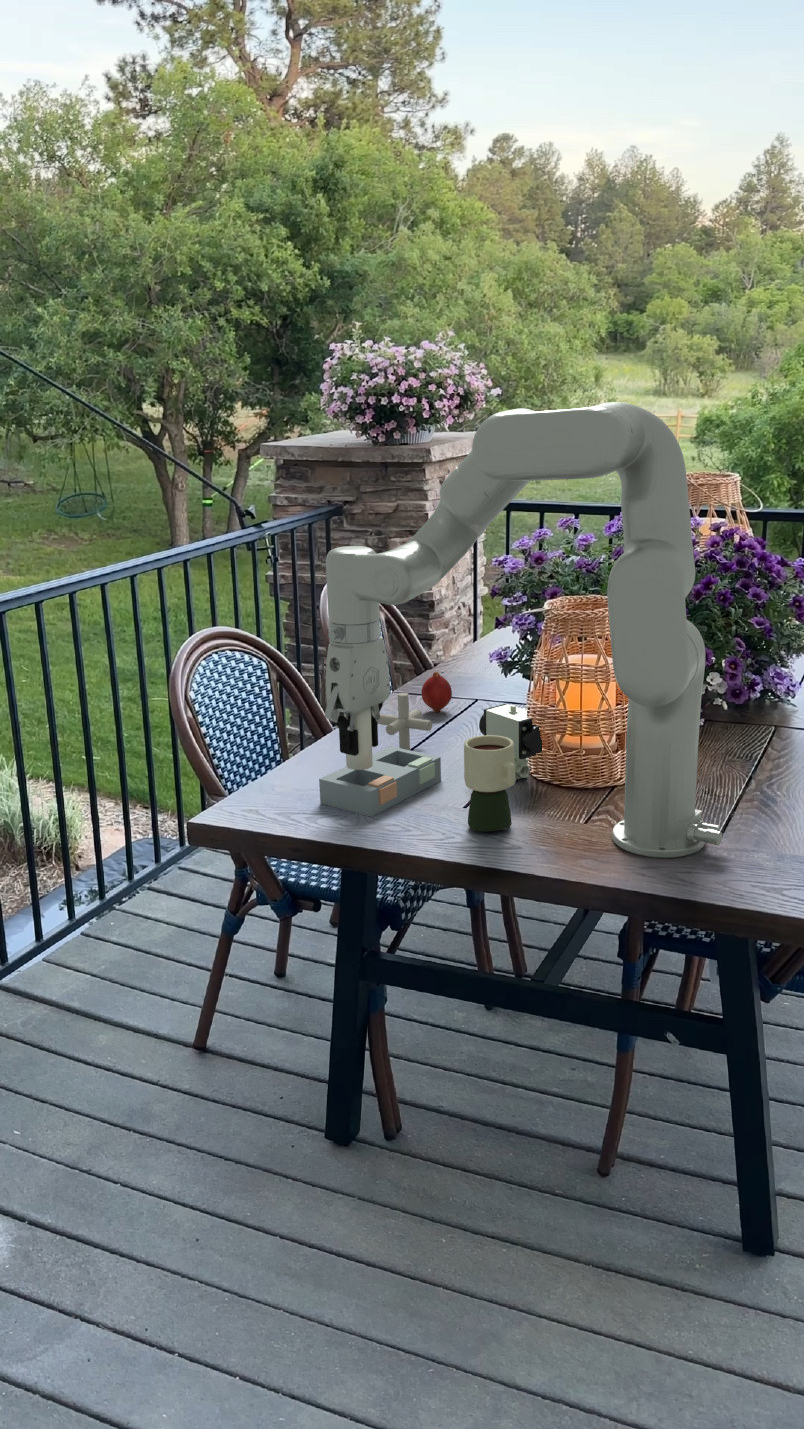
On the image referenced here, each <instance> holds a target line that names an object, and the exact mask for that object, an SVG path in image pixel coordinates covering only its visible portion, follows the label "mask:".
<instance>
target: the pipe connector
mask: <svg viewBox="0 0 804 1429" xmlns="http://www.w3.org/2000/svg"><path fill="white" fill-rule="evenodd" d="M409 704H410V698H409V693H408V692H399V693H398V694H397V708H398V709H397V711H398V712H397V713H398V715H391V714H384V713H383V714H382V713H380V719H379V720H378V721H377V723H378V725H381V726H386V727H385V732H386V733H387V735H389V736H393V735H395V734H397V733H398V741H399V742H398V744H399V745H398V748H401V749H406V750H410V751H411V743H410V741H411V739H410V738H411V736H410V735H411V734H410V729H411V730H419V731H426V732H430V731H431V730H432V729H433V721H432V720H431V719H421V717H422V716H423V713H422V711H421V709H419V708H415V709H413V710H411V711H410V706H409Z"/></svg>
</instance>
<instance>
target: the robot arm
mask: <svg viewBox="0 0 804 1429" xmlns="http://www.w3.org/2000/svg"><path fill="white" fill-rule="evenodd" d="M473 436H474V437H473V440H472V444H471V445H472V446H471V451H470V452H469V453H468V454H467V455H466V456H465V457H464V458H463V459H462V461H460V463H459V464H457V466H456V467H455V468H454V470H452V472H451V473H450V474H449V475H448V476H447V477H446V478H445V480H443V482H442V483H441V485H440V487H439V496H440V497H439V502H438V505H437V507H436V508H435V510H434V511H433V513H432V514H431V515H430V517H429V518H428V519H427V521H426V522H424V524H423V525H422V526H421V527H420V528H419V529H418V530H417V531H416V533H415V534H414V535H413V536H411V538H410V539H409V540H408V541H407V542H406V543H404V544H401V545H399V546H397V547H395V548H392V549H390V550H387V551H383V552H379V553H377V552H376V551H375V550H374V549H373V548H372V547H371V548H370V547H367V546H362V545H346V546H339V547H336V548H333V549H331V550H329V551H328V553H327V555H326V557H325V572H326V574H325V575H326V594H327V595H326V596H327V598H326V599H327V613H328V635H327V636H328V638H329V644H328V647H327V653H326V654H327V655H326V667H325V668H326V671H325V672H326V673H325V689H326V690H325V691H326V692H325V694H326V704H327V706H326V708H325V711H324V717H325V718H326V719H328V720H329V721H332V723H334V725H335V728H336V729H338V735H339V751H340V753H342V754H345V755H346V754H349V755H353V756H356V755H358V753H359V746H358V730H356V729H355V720H356V712H359V711H362V710H365V709H367V708H370V707H371V731H372V748H376V747H377V746H379V733H378V732H379V730H378V728H379V727H378V725H379V724H378V723H377V721H378V720H379V719H380V714H381V710H382V709H383V705H384V703H385V702H386V700H387V699H389V697H390V694H391V683H390V670H389V661H388V654H387V650H386V645H385V641H384V638H383V636H381V626H380V625H381V620H380V619H381V618H380V615H381V614H380V604H384V605H388V606H396V605H397V606H398V605H403V604H404V603H408V602H409V601H410V600H413V599H415V598H416V597H418V596H419V595H421V594H424V593H425V592H427V591H429V590H431V589H432V588H434V587H435V586H436V585H437V584H439V582H440V581H441V580H442V579H443V578H444V577H445V576H446V575H447V574H448V573H449V572H450V571H451V570H452V569H453V568H454V567H455V566H456V564H458V563H459V562H460V560H461V559H462V558H463V557H464V556H465V555H466V554H467V553H468V551H470V549H471V548H472V546H474V544H475V543H476V542H477V540H478V539H479V538H480V537H481V536H482V535H483V534H484V533H485V531H486V529H487V528H488V526H490V524H491V523H492V522H493V521H494V520H495V519H496V518H497V517H498V515H499V514H501V512H502V511H503V510H504V509H505V508H506V507H507V506H508V505H509V504H510V503H511V501H513V499H514V498H515V497H516V496H517V495H518V494H519V493H520V492H521V491H522V490H523V489H524V488H525V487H526V486H527V485H528V484H529V483H530V482H531V481H532V482H534V481H535V482H536V481H537V482H538V481H555V480H556V481H559V480H560V481H561V480H563V481H564V480H582V479H583V480H585V479H595V478H602V477H605V476H607V475H610V474H611V473H614V472H616V473H617V474H618V477H619V479H620V484H621V498H620V504H621V505H620V506H621V508H620V509H621V519H622V525H623V527H622V528H623V553H622V554H621V555H620V556H619V557H618V558H617V559H616V560H615V562H614V564H613V566H612V567H611V569H610V573H609V575H608V582H607V592H606V593H607V594H606V596H607V598H606V600H607V611H608V622H609V634H610V646H611V659H612V669H613V673H614V674H613V675H614V678H615V680H616V683H617V685H618V687H619V689H620V690H621V691H622V693H623V694H624V695H625V696H626V697H627V698H628V701H627V702H628V704H627V716H626V718H627V719H626V737H625V738H626V741H625V742H626V743H625V747H626V748H625V771H624V772H625V773H624V774H625V776H624V778H625V780H624V781H625V782H624V810H623V811H624V812H623V820H621V821H619V822H618V823H615V825H614V826H613V827H612V833H611V834H612V835H611V836H612V840H613V842H614V844H616V845H617V846H618V847H620V848H621V849H622V850H624V851H626V852H629V853H632V854H636V855H639V856H644V857H651V858H662V859H663V858H664V859H665V858H667V859H668V858H678V857H685V856H688V855H692V854H694V853H697V852H698V851H700V850H701V849H702V848H703V847H704V846H705V844H708V845H714V846H720V845H721V843H722V840H723V833H722V831H721V826H720V825H718V824H713V823H709V822H708V823H707V822H705V820H703V818H702V817H703V811H702V810H700V809H696V800H697V798H696V795H697V778H698V775H697V774H698V756H699V755H698V754H699V736H700V720H701V705H702V696H703V695H702V694H703V685H704V677H705V668H706V646H705V642H704V639H703V636H702V634H701V633H700V632H701V631H700V630H699V629H698V628H697V627H696V626H695V625H694V624H693V622H691V621H690V620H688V619H687V611H686V610H687V609H686V608H687V607H686V606H687V604H686V598H687V596H688V595H689V594H690V592H691V591H692V589H693V586H694V583H695V581H696V565H695V556H694V548H693V547H694V545H693V534H692V520H691V518H692V517H691V510H690V503H689V502H690V501H689V490H688V489H689V486H688V479H687V478H688V477H687V475H688V474H687V469H686V468H687V467H686V464H685V459H684V454H683V451H682V449H681V446H680V444H679V441H678V439H677V437H676V436H675V433H673V431H672V429H671V428H670V427H669V426H668V425H667V424H666V423H665V422H664V421H663V420H662V419H661V418H659V417H658V416H657V415H655V414H654V413H652V412H651V411H649V410H647V409H644V408H642V407H640V406H637V405H635V404H632V403H628V402H627V403H626V402H619V401H612V402H609V401H608V402H603V403H600V404H597V405H591V406H589V407H579V408H569V409H555V410H541V411H536V410H533V409H530V408H521V407H519V408H515V409H513V408H512V409H508V410H503V411H499V412H496V413H494V414H492V415H490V416H488V417H487V418H486V419H485V420H483V422H481V424H480V425H479V427H478V428H477V430H476V431H475V434H474V435H473ZM344 713H347V714H348V720H347V718H346V717H345V716H344Z"/></svg>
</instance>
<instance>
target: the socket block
mask: <svg viewBox="0 0 804 1429" xmlns="http://www.w3.org/2000/svg"><path fill="white" fill-rule="evenodd" d="M441 758H442V757H441V756H439V755H438V756H437V755H432V754H428V753H424V752H419V751H414V750H411V749H410V750H406V749H401V748H399V747H396V746H391V745H390V746H388V747H386V748H384V749H382V750H379V751H377V752H376V753H372V759H373V766H372V767H371V768H368V769H364V770H352V769H349V768H347V766H344V767H341V768H340V769H337V770H336V771H334V772H331V773H329V774H327V775H324V776H322V777H319V779H318V782H319V784H318V785H319V786H318V787H319V799H320V800H319V801H320V804H322V805H326V806H329V807H333V808H337V809H340V810H344V811H348V812H352V813H355V814H360V815H363V816H367V817H371V818H372V817H374V816H376V815H378V814H380V813H382V812H384V811H385V810H387V809H389V808H392V807H393V806H395V805H397V804H399V803H400V802H403V801H405V800H406V799H409V798H411V797H412V796H414V795H416V794H418V793H420V792H422V791H424V790H426V789H427V788H430V787H431V786H433V785H435V784H437V783H439V782H441V781H442V770H441V769H442V767H441V766H442V765H441V764H442V763H441V762H442V761H441Z"/></svg>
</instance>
